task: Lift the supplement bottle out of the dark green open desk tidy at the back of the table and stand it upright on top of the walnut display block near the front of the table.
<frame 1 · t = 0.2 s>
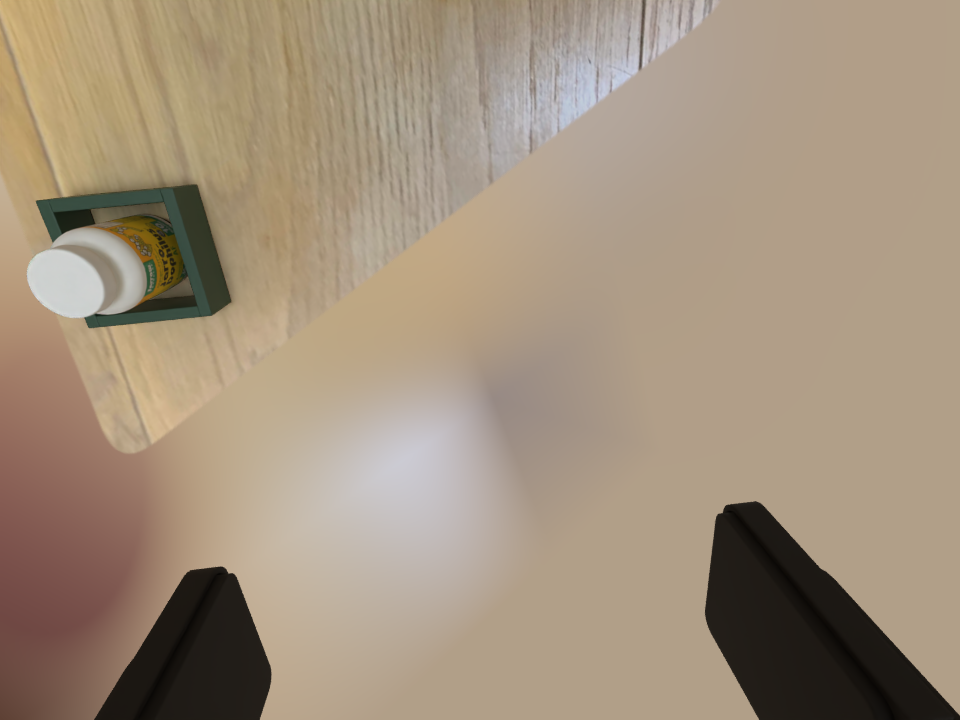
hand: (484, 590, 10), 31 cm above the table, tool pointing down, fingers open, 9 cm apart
supplement bottle: (157, 251, 37), resting in desk tidy
desk tidy: (156, 251, 37), on the table
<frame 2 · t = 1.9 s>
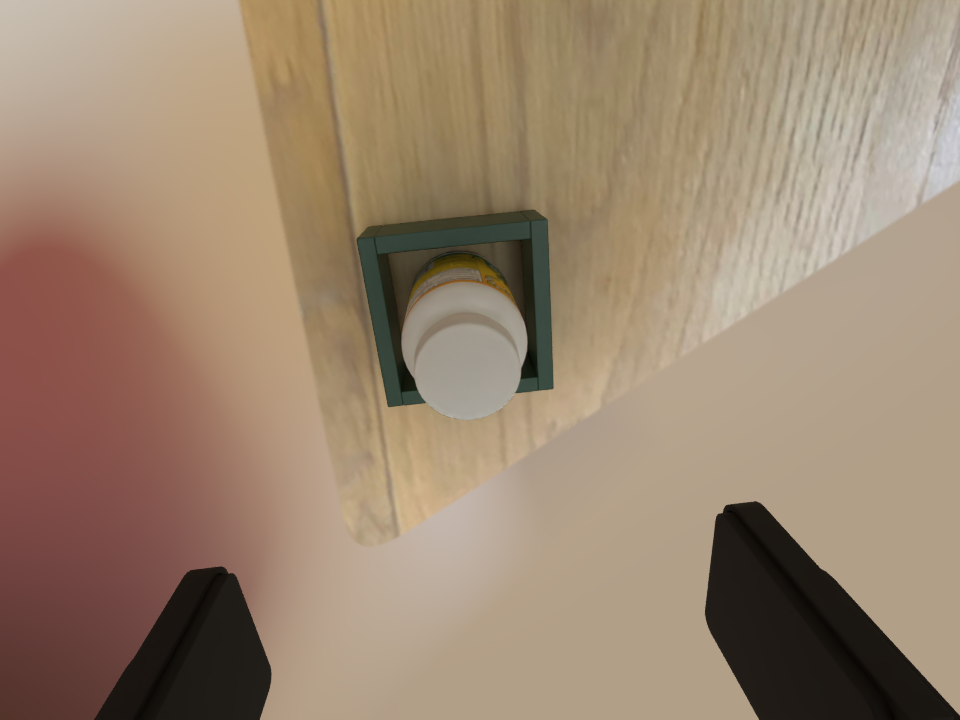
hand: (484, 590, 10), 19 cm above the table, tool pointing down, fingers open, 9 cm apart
supplement bottle: (460, 298, 27), resting in desk tidy
desk tidy: (460, 299, 27), on the table
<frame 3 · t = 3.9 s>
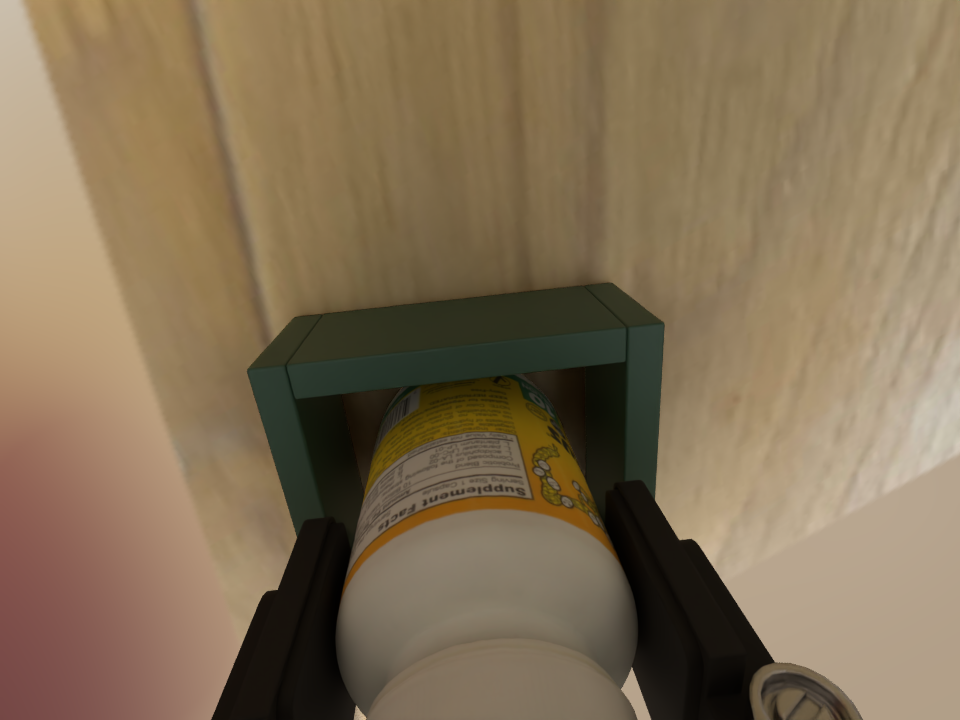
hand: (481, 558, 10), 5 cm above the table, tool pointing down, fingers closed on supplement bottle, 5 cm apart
supplement bottle: (470, 433, 15), resting in desk tidy, touching gripper
desk tidy: (470, 436, 15), on the table
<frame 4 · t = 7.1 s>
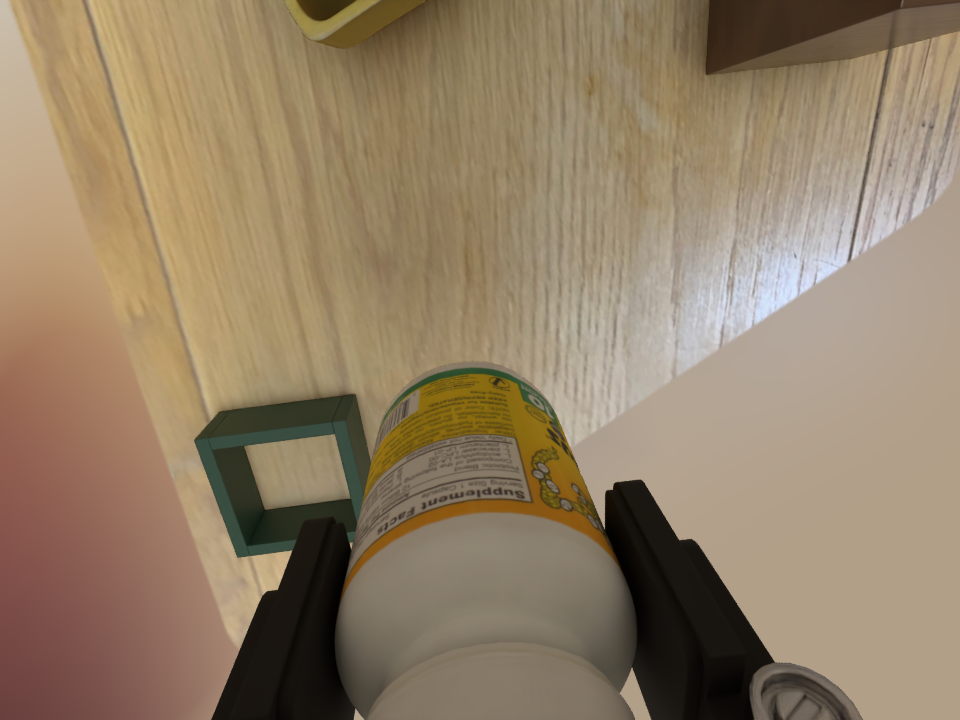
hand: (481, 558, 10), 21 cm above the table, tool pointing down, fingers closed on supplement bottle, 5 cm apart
supplement bottle: (469, 434, 15), point 16 cm above the table, touching gripper
desk tidy: (303, 460, 33), on the table
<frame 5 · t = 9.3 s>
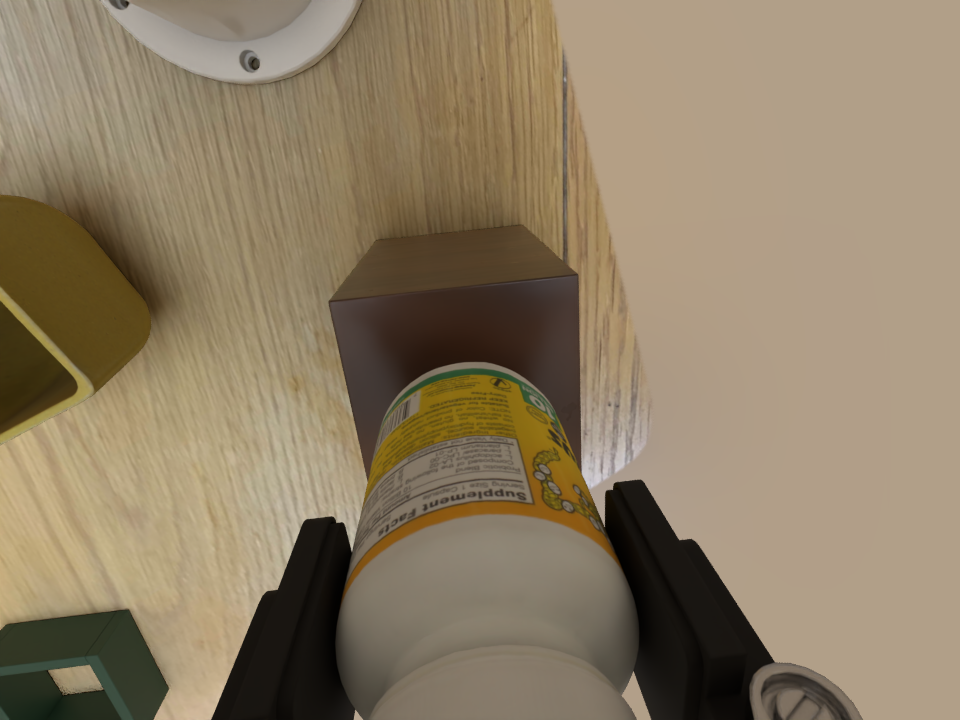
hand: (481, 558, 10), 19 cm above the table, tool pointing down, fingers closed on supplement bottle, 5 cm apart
flower pot: (83, 289, 27), on the table
supplement bottle: (470, 435, 15), point 14 cm above the table, touching gripper
display block: (457, 303, 28), on the table
desk tidy: (91, 658, 37), on the table
when the fingers open (17 cm above the table, at t = 10.6 s): supplement bottle stays where it is, resting on display block.
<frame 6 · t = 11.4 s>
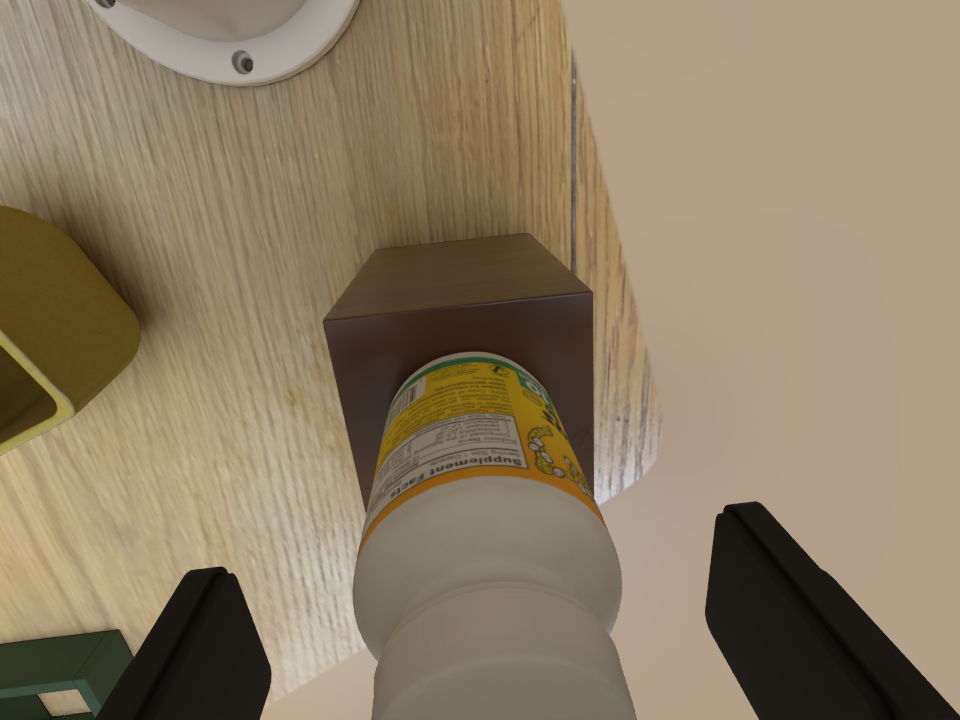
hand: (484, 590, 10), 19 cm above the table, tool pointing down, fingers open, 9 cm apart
flower pot: (70, 300, 26), on the table
supplement bottle: (471, 421, 16), point 12 cm above the table, touching display block
display block: (461, 315, 27), on the table
desk tidy: (80, 679, 36), on the table
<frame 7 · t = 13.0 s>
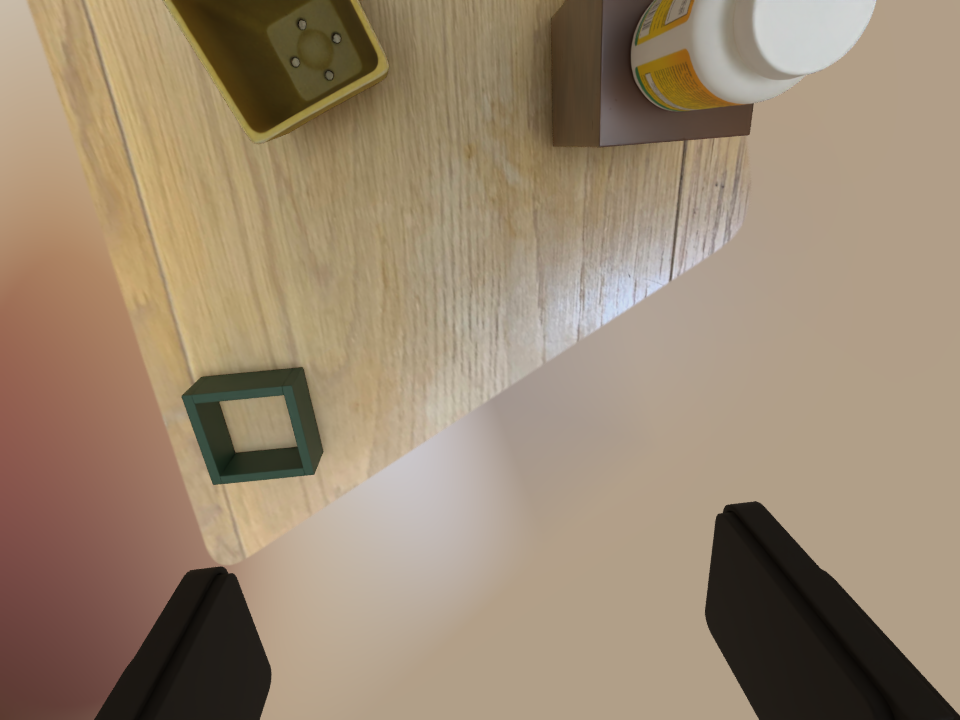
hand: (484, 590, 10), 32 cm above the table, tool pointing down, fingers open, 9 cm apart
flower pot: (316, 53, 34), on the table
supplement bottle: (679, 52, 24), point 12 cm above the table, touching display block
display block: (607, 80, 35), on the table
desk tidy: (264, 415, 44), on the table
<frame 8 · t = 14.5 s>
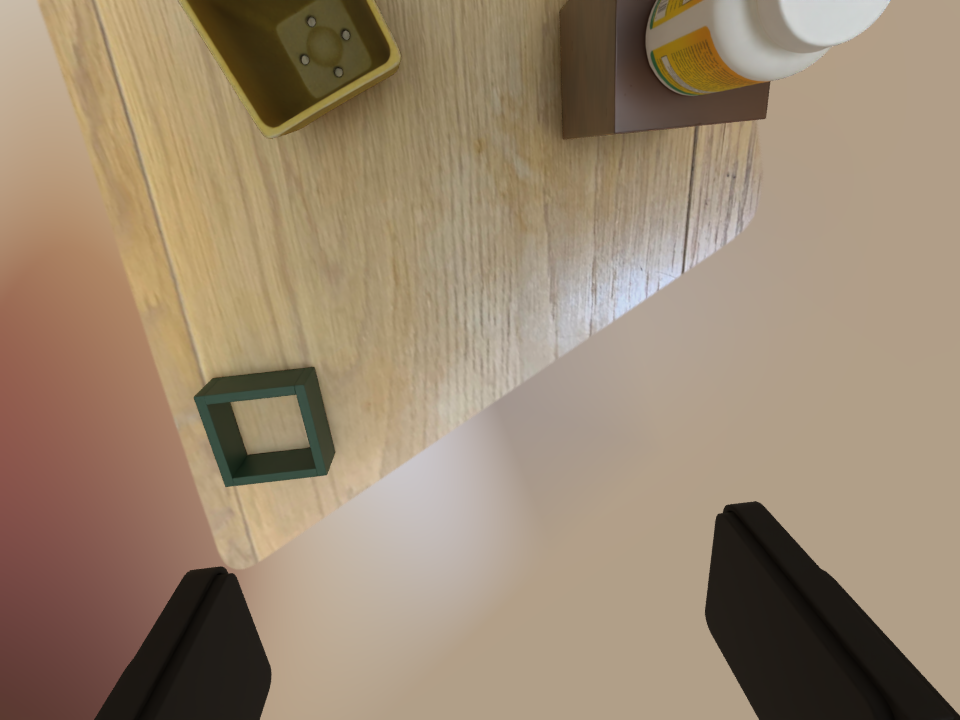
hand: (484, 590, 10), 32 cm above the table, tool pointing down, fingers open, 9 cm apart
flower pot: (325, 50, 34), on the table
supplement bottle: (694, 36, 24), point 12 cm above the table, touching display block
display block: (617, 72, 35), on the table
desk tidy: (276, 416, 44), on the table
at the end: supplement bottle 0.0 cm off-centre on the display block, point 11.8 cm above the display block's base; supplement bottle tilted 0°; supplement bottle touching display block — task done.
